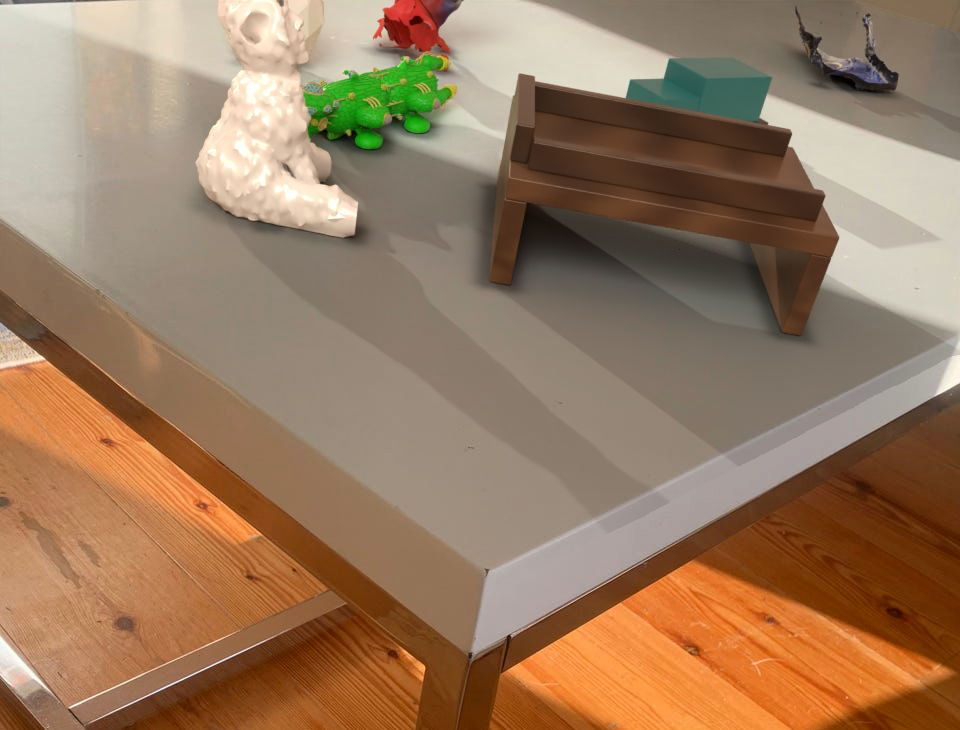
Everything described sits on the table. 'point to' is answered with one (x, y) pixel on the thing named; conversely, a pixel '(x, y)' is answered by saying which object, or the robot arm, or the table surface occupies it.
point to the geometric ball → (303, 3)
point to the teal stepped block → (707, 88)
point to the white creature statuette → (271, 131)
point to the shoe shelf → (665, 182)
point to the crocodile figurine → (378, 100)
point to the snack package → (851, 61)
